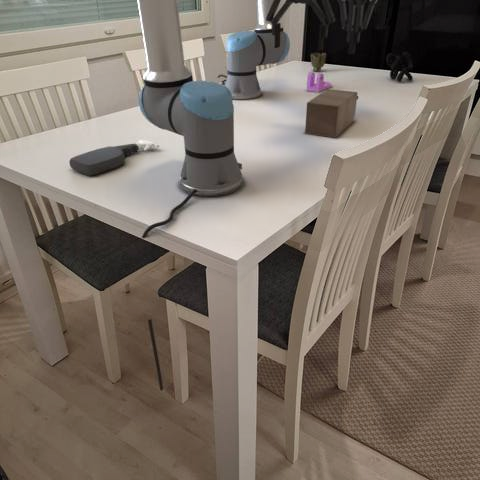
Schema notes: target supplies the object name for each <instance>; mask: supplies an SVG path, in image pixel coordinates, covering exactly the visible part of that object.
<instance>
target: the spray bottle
mask: <svg viewBox="0 0 480 480" xmlns="http://www.w3.org/2000/svg"><path fill="white" fill-rule="evenodd" d="M159 148H160V145H159V144H158V143H155V142H151V141H148V140H144V139H139V140H138V141H137V142H135V143H129V144H128V143H126V144H122V145H113V146H105V147H100V148H97V149H94V150H90V151H87V152H83V153H81V154H78V155H74V156H73V157H70V159H69V161H68V162H69V167H70V168H71V169H72V170H74V171H75V172H78V173H81V174H83V175H85V176H89V177H90V176H91V177H92V176H95V175H99V174H102V173H105V172H107V171H110V170H113V169H116V168H118V167H120V166H122V165H123V164H124V163H125V158H126V156H127V155H131V154H133V153H138V151H140V150H143V151H144V152H146V151H147V150H149V149H159Z"/></svg>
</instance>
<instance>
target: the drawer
mask: <svg viewBox="0 0 480 480" xmlns="http://www.w3.org/2000/svg"><path fill="white" fill-rule="evenodd" d="M358 94H359V93H358V92H357V96H356V103H357V102H358V100H359V95H358ZM356 109H357V104H356V105H355V111H356ZM355 116H356V112H355V113H354V117H355Z"/></svg>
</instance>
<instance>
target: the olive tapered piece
mask: <svg viewBox="0 0 480 480" xmlns="http://www.w3.org/2000/svg"><path fill="white" fill-rule="evenodd" d="M326 59H327V53H326V52H321V53H320V52H313V53H310V64H311V67H313V71H314V72H321V71H322V68H323V67H324V66H325V64H326Z"/></svg>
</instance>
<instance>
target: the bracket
mask: <svg viewBox="0 0 480 480" xmlns="http://www.w3.org/2000/svg"><path fill="white" fill-rule="evenodd" d="M315 79H316V81H315ZM324 80H325V75H324V73H321V72H319V73H318V74H317V75H316V74H315V72H313V71H309V72H308V74H307V80H306V91H309V92H316V93H321V92H323V91H326V90H327V89H330V88H331V87H332V82H330V81H324Z"/></svg>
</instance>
